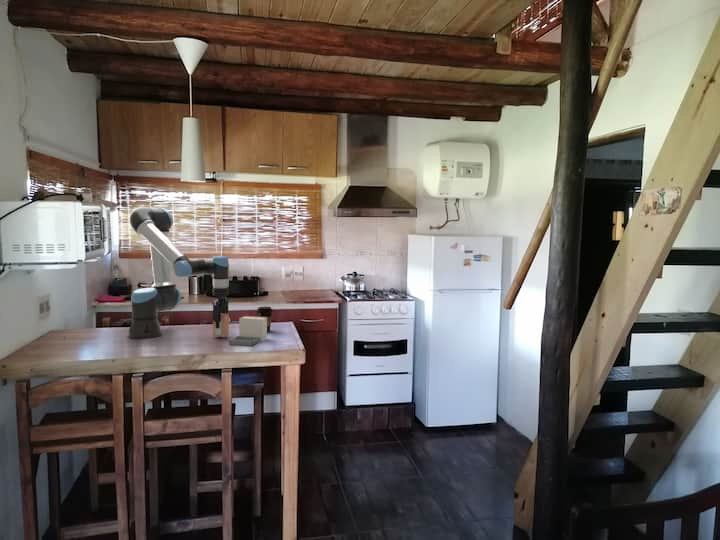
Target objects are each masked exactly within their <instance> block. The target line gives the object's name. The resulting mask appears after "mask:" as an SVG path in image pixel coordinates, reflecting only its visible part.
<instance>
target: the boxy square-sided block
mask: <svg viewBox="0 0 720 540" xmlns="http://www.w3.org/2000/svg"><path fill="white" fill-rule="evenodd" d="M238 325H239V326H238V327H239V328H238V330H239V332H238V333H239V335H238V336H246V337H259V342H260V343H261V342H265V341H266V340H267V339H268V332H267V317H257V315H256V316H253V315H243V316H240V317H239V321H238Z"/></svg>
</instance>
